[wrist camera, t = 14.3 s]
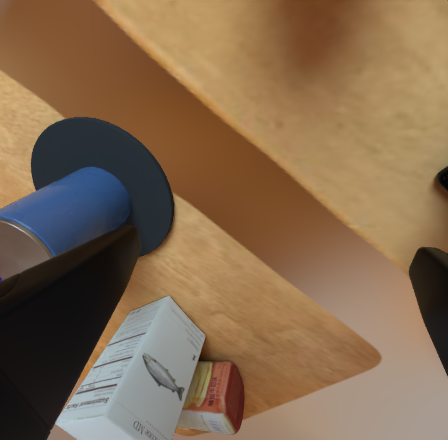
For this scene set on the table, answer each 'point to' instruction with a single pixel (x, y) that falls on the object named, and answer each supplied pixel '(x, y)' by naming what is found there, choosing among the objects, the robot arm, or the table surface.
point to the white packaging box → (138, 378)
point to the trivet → (109, 170)
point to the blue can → (60, 218)
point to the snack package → (214, 399)
